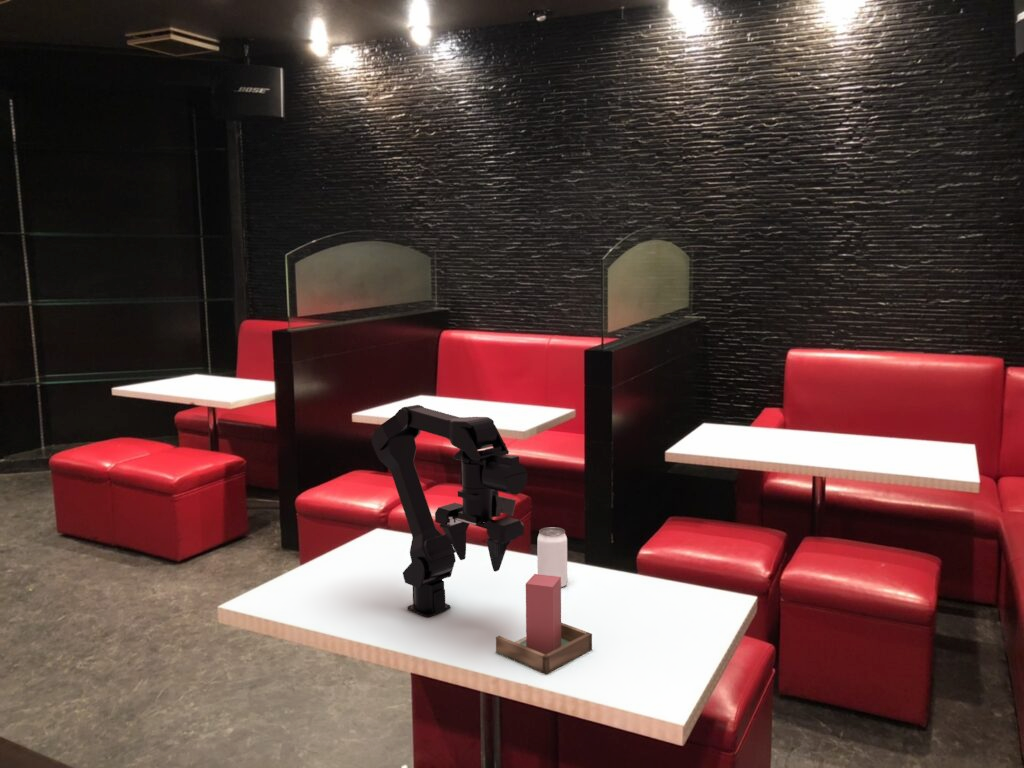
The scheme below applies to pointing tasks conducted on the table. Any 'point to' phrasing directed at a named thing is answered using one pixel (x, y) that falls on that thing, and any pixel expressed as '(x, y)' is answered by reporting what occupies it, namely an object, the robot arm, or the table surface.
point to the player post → (543, 613)
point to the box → (571, 648)
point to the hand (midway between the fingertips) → (479, 565)
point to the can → (552, 553)
